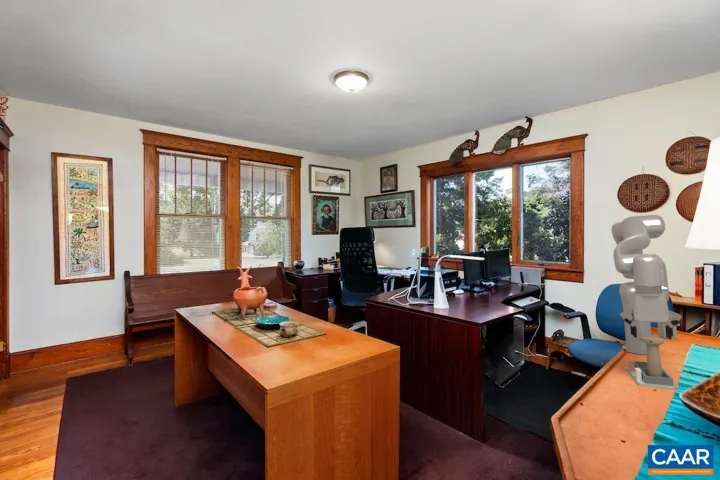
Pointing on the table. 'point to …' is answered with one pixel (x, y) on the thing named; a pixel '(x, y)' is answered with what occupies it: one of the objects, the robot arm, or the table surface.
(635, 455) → the table surface
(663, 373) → the grey compartment tray
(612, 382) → the table surface
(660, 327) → the skincare box
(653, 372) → the handle
